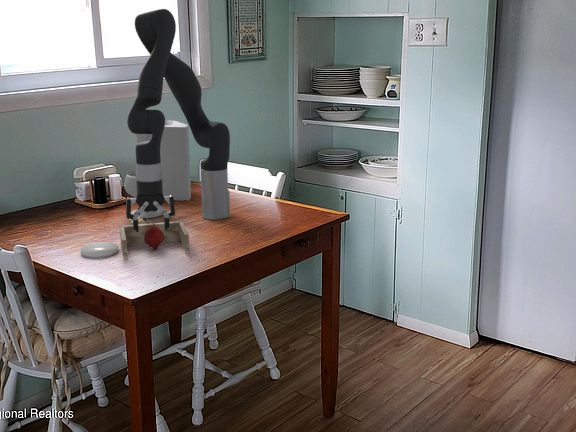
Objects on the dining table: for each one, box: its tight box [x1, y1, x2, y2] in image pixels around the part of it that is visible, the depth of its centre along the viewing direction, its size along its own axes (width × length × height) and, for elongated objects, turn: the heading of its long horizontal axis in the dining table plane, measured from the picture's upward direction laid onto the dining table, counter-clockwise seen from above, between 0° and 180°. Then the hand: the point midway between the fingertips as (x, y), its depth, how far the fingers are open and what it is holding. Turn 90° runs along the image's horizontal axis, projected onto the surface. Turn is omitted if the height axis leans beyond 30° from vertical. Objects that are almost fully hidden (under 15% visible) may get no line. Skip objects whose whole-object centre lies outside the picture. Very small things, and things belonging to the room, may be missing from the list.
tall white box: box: [135, 120, 192, 201], centre depth 266 cm, size 19×15×28 cm
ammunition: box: [126, 217, 153, 225], centre depth 227 cm, size 5×7×8 cm
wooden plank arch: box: [119, 220, 191, 261], centre depth 208 cm, size 19×14×6 cm
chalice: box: [123, 170, 165, 219], centre depth 242 cm, size 14×14×15 cm
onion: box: [144, 224, 164, 250], centre depth 208 cm, size 6×6×8 cm
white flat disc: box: [80, 241, 120, 259], centre depth 207 cm, size 11×11×1 cm
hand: (151, 230), depth 207 cm, fingers open, 8 cm apart
